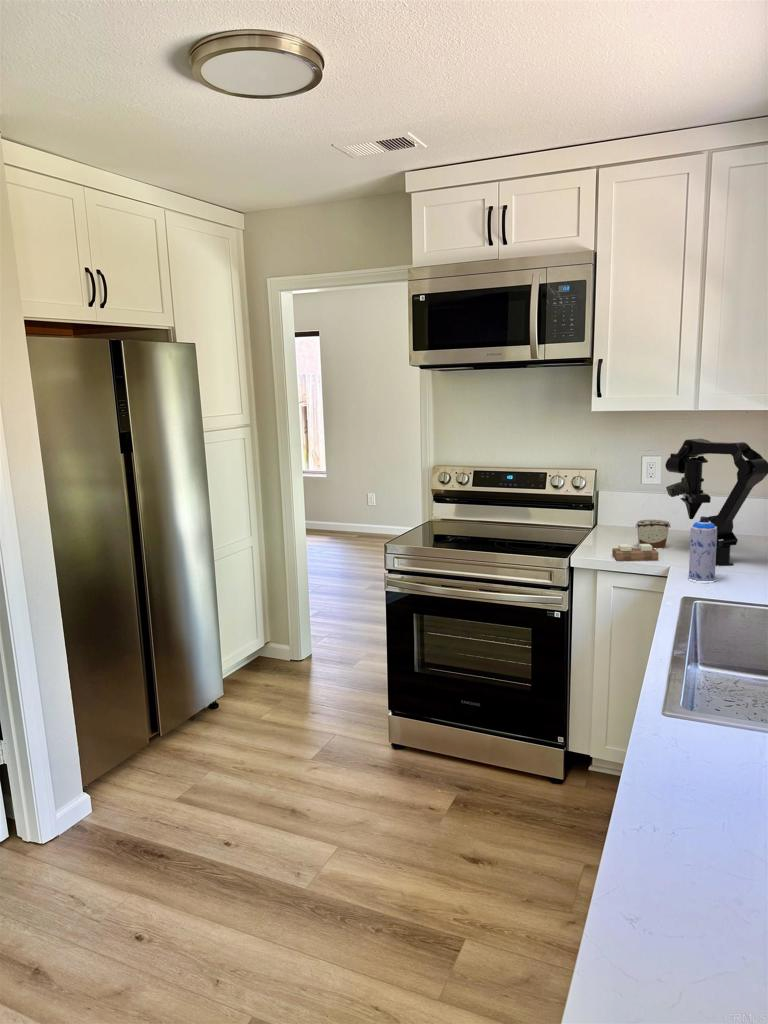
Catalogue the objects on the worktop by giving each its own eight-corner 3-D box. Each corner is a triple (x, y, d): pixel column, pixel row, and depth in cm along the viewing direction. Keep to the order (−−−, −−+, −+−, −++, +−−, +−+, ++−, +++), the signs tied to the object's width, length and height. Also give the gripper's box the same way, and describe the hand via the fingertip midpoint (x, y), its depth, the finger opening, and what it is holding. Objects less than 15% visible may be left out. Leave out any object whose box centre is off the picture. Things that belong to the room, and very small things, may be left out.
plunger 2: (651, 559, 244) (652, 546, 244) (641, 559, 245) (641, 546, 244) (648, 556, 248) (649, 543, 247) (638, 556, 248) (638, 544, 247)
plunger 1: (631, 559, 245) (631, 546, 244) (620, 559, 245) (621, 546, 245) (628, 557, 249) (628, 544, 248) (618, 557, 249) (618, 544, 248)
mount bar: (658, 560, 243) (658, 552, 242) (616, 561, 244) (617, 552, 243) (652, 555, 249) (652, 547, 249) (612, 556, 251) (612, 548, 250)
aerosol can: (720, 579, 217) (723, 516, 214) (707, 585, 213) (710, 520, 209) (695, 575, 223) (698, 513, 220) (682, 580, 219) (685, 517, 215)
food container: (664, 544, 265) (665, 519, 263) (669, 548, 259) (670, 522, 257) (631, 545, 266) (632, 519, 264) (635, 549, 260) (636, 522, 258)
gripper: (661, 472, 254) (659, 514, 256) (677, 479, 235) (676, 524, 238) (692, 471, 253) (691, 514, 255) (712, 478, 234) (710, 524, 237)
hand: (691, 519), depth 246 cm, fingers closed
